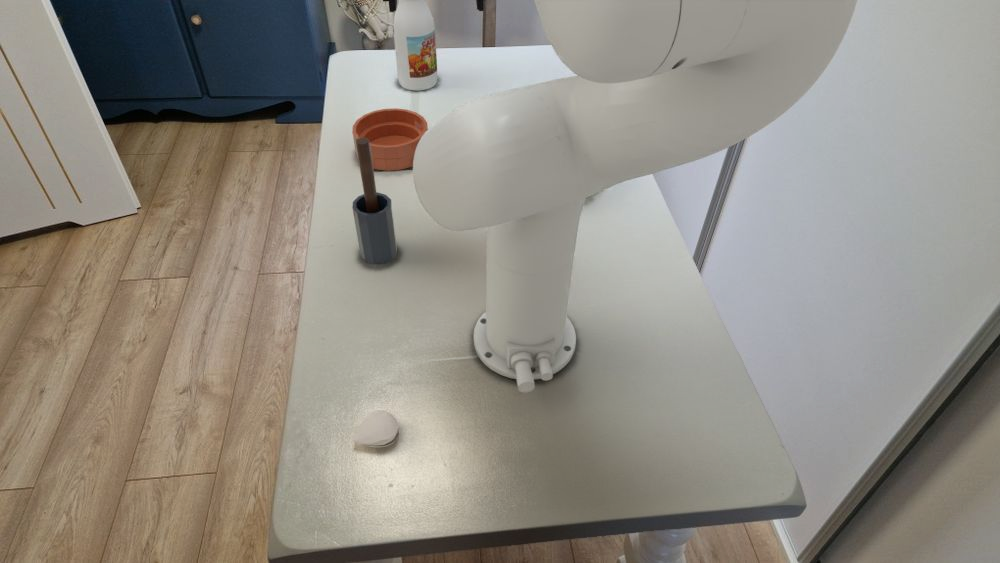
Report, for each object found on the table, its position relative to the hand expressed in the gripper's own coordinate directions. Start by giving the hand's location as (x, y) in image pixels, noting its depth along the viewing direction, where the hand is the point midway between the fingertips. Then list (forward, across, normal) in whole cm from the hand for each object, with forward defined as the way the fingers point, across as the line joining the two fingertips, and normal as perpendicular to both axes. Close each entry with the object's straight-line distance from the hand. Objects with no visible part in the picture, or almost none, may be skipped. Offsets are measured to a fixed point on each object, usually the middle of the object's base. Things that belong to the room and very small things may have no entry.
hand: (436, 6), depth 73 cm
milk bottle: (+33, -5, +47) cm, 58 cm away
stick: (+32, -10, -4) cm, 34 cm away
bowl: (+33, -9, +22) cm, 41 cm away
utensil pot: (+33, -10, -4) cm, 35 cm away
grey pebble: (+33, -8, -34) cm, 48 cm away
